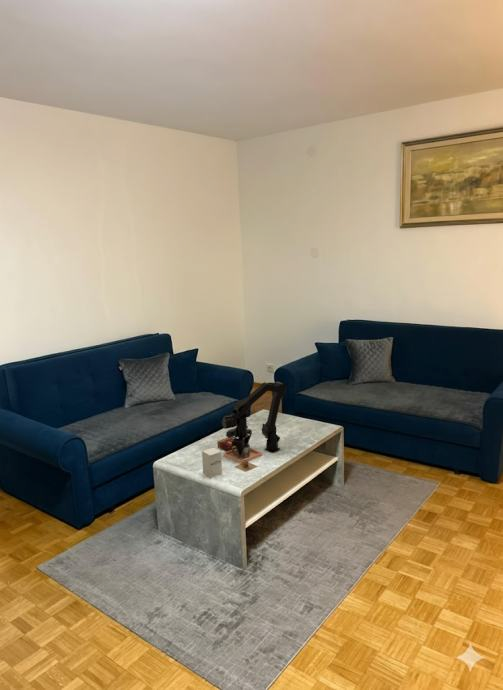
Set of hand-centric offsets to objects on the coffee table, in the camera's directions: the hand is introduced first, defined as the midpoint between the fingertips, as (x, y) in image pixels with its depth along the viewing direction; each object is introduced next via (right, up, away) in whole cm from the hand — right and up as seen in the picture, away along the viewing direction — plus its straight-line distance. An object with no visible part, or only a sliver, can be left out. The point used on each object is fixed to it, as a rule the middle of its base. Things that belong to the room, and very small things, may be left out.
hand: (242, 451), depth 276 cm
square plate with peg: (+2, -5, -13) cm, 14 cm away
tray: (0, -3, +1) cm, 3 cm away
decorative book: (-6, -1, +13) cm, 14 cm away
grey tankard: (0, -2, 0) cm, 2 cm away
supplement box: (-15, -7, -19) cm, 26 cm away
